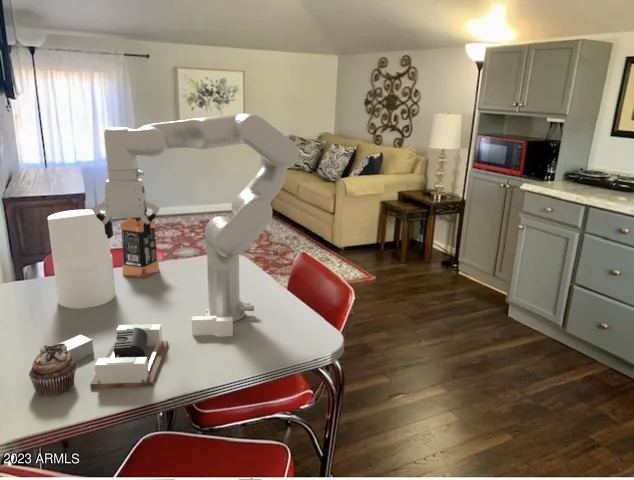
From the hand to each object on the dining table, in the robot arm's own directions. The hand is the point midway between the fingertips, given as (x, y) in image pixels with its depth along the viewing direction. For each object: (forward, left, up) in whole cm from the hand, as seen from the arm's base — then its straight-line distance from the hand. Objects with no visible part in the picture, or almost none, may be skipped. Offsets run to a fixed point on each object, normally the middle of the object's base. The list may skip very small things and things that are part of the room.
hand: (128, 237), depth 134 cm
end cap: (-4, +19, -27) cm, 34 cm away
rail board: (-4, +20, -28) cm, 34 cm away
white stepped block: (-23, +4, -29) cm, 37 cm away
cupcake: (+11, +29, -28) cm, 42 cm away
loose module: (+12, +15, -28) cm, 34 cm away
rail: (-4, +19, -27) cm, 34 cm away
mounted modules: (-4, +19, -27) cm, 34 cm away
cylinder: (+21, -23, -28) cm, 42 cm away
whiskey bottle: (+9, -46, -28) cm, 55 cm away
